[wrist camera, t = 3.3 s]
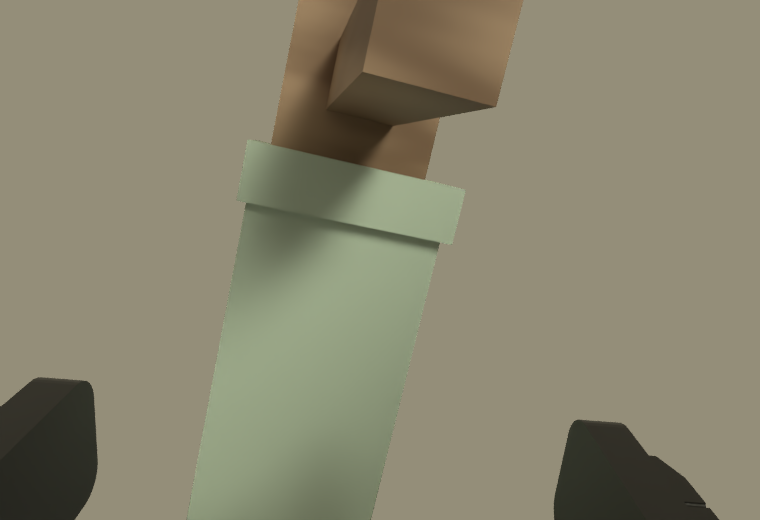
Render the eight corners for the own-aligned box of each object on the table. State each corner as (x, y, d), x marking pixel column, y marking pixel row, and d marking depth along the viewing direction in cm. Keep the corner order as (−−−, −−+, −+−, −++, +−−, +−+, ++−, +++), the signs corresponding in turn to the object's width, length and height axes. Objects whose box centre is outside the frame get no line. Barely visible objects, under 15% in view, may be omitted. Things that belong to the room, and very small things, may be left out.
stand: (284, 701, 34) (408, 175, 28) (287, 896, 25) (465, 189, 20) (152, 698, 32) (257, 140, 27) (105, 907, 23) (247, 139, 18)
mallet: (396, 172, 28) (425, 48, 27) (552, 212, 11) (642, -109, 10) (275, 144, 26) (300, 13, 25) (249, 143, 10) (318, -227, 9)
